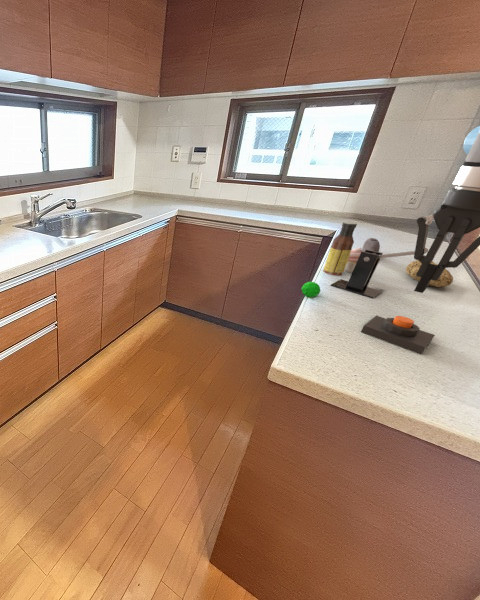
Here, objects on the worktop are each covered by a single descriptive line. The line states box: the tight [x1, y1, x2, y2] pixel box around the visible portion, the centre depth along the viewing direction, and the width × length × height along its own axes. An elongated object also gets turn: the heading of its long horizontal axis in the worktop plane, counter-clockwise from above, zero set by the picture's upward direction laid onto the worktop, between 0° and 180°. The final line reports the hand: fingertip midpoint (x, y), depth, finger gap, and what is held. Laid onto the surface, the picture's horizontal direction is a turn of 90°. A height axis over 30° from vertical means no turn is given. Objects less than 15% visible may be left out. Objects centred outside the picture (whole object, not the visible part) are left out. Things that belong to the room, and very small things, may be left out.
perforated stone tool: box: [362, 237, 381, 252], centre depth 145 cm, size 15×5×7 cm, turn 145°
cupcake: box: [343, 247, 363, 274], centre depth 125 cm, size 9×9×10 cm
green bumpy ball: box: [301, 281, 321, 298], centre depth 105 cm, size 5×5×5 cm
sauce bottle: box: [322, 221, 358, 277], centre depth 120 cm, size 7×6×20 cm
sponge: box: [405, 260, 454, 288], centre depth 119 cm, size 13×8×20 cm
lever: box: [372, 247, 429, 259], centre depth 101 cm, size 14×6×2 cm, turn 36°
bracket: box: [330, 249, 384, 299], centre depth 108 cm, size 12×9×14 cm
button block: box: [360, 315, 435, 355], centre depth 84 cm, size 12×10×4 cm
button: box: [392, 315, 415, 328], centre depth 82 cm, size 4×4×2 cm
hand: (419, 290), depth 78 cm, fingers closed
